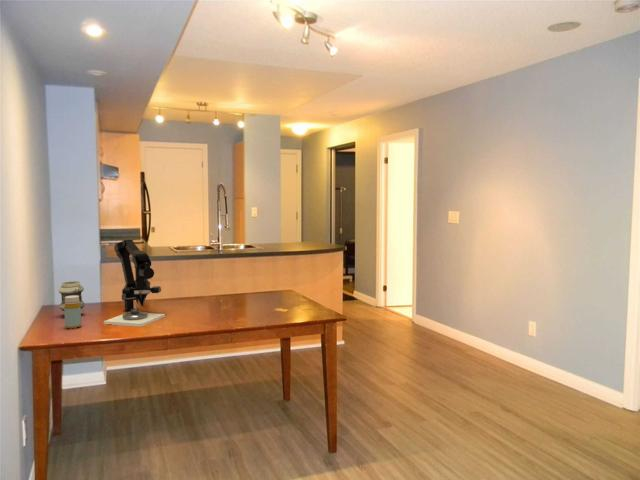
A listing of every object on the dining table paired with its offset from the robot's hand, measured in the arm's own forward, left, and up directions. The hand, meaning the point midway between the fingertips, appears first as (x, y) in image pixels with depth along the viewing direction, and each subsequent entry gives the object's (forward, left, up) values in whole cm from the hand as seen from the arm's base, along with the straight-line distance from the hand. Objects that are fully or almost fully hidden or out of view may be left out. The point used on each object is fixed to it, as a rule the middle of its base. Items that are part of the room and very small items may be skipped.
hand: (142, 306), depth 263 cm
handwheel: (+1, -8, -3) cm, 8 cm away
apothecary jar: (-36, -9, -5) cm, 37 cm away
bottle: (-19, -29, -5) cm, 35 cm away
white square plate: (+2, -10, -5) cm, 12 cm away
